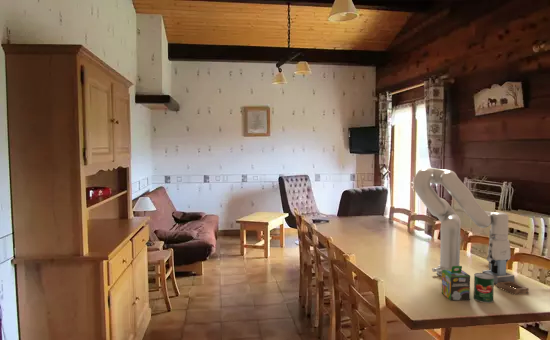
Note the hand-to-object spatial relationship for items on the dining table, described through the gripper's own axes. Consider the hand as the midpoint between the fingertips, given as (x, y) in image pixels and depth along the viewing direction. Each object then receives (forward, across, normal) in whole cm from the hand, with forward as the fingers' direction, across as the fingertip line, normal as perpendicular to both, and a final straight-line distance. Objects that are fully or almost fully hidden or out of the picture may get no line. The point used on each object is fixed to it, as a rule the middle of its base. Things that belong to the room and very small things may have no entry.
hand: (498, 271), depth 201 cm
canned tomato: (+5, -25, -18) cm, 31 cm away
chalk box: (+5, -35, -12) cm, 37 cm away
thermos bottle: (+5, +13, +15) cm, 21 cm away
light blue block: (+3, 0, 0) cm, 3 cm away
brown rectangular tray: (+5, -3, -12) cm, 13 cm away
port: (+5, 0, 0) cm, 5 cm away
